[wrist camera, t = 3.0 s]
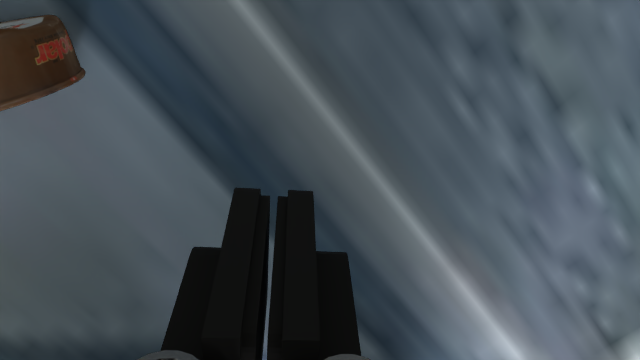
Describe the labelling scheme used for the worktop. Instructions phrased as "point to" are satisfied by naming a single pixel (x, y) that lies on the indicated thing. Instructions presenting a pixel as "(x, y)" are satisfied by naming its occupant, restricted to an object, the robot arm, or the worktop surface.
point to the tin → (35, 60)
